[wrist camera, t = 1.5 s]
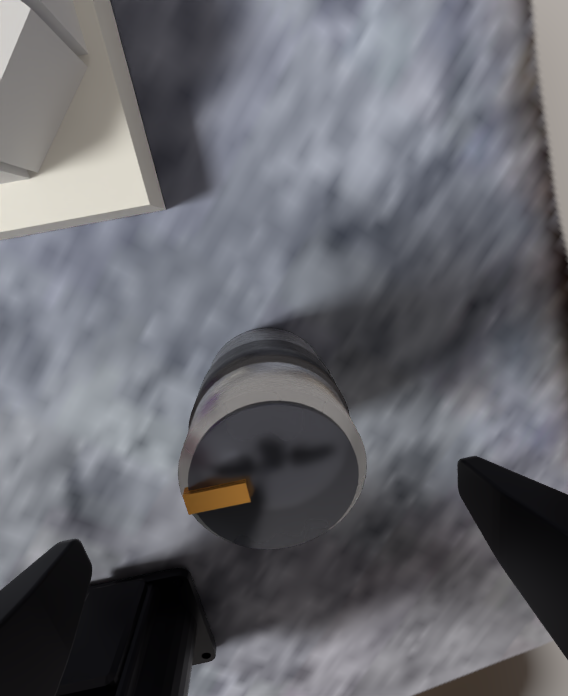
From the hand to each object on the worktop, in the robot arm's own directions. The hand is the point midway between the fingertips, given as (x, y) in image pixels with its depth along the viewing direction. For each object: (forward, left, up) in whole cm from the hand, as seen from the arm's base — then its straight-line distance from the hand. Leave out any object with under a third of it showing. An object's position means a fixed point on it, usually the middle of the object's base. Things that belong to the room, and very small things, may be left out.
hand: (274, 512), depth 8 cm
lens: (0, 0, -7) cm, 7 cm away
